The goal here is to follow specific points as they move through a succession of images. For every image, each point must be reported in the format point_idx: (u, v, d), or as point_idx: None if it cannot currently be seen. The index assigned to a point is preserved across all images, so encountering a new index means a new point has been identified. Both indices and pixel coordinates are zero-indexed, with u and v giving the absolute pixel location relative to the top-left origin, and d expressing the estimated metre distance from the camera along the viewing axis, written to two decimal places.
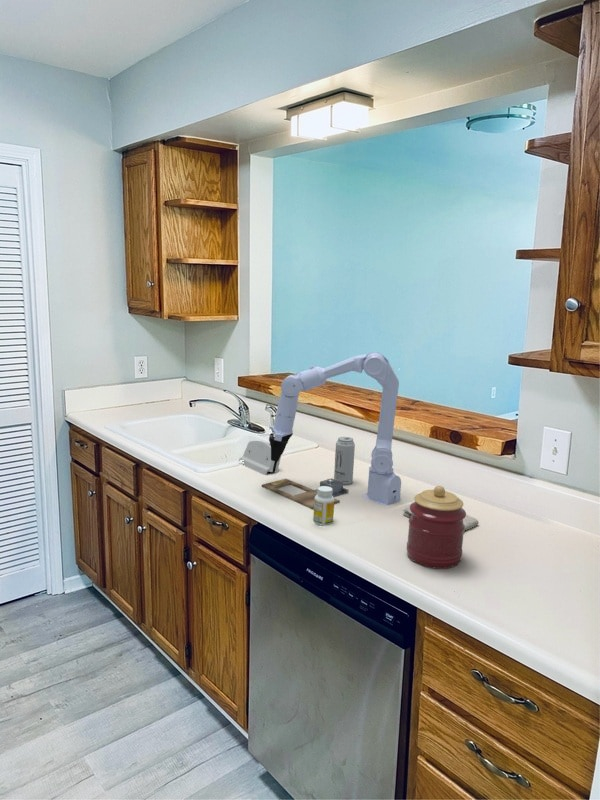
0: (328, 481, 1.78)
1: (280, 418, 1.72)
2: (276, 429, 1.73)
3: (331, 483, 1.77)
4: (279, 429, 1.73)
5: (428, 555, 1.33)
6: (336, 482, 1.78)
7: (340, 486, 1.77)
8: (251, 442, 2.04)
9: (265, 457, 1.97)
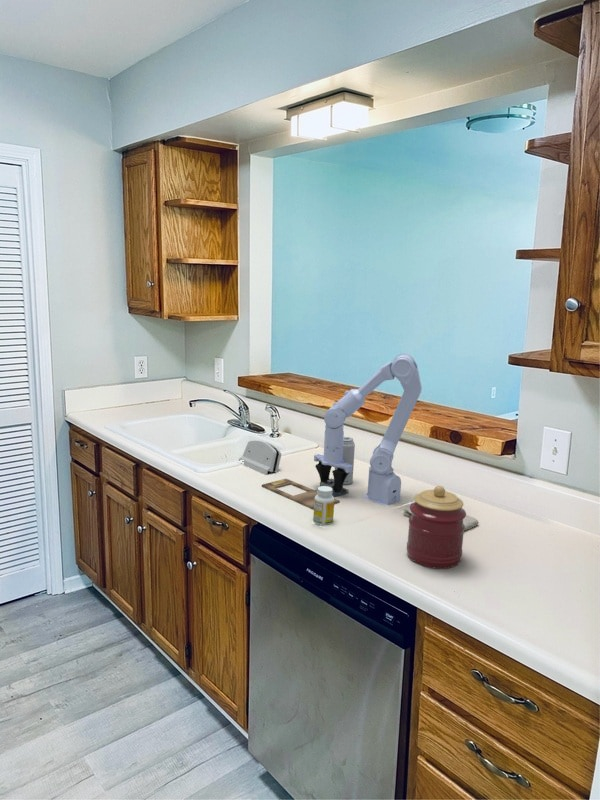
0: (328, 481, 1.78)
1: (337, 451, 1.73)
2: (335, 463, 1.74)
3: (331, 483, 1.77)
4: (337, 461, 1.74)
5: (428, 555, 1.33)
6: None
7: None
8: (251, 442, 2.04)
9: (265, 457, 1.97)
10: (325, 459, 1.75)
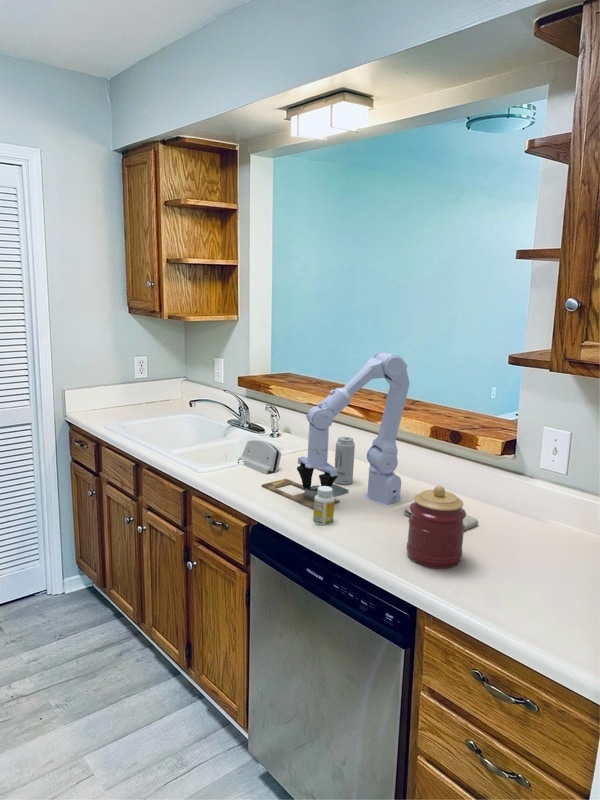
0: (313, 488, 1.69)
1: (321, 453, 1.65)
2: (319, 466, 1.65)
3: (316, 490, 1.68)
4: (322, 464, 1.65)
5: (428, 555, 1.33)
6: None
7: None
8: (250, 442, 2.05)
9: (265, 456, 1.98)
10: (309, 462, 1.66)
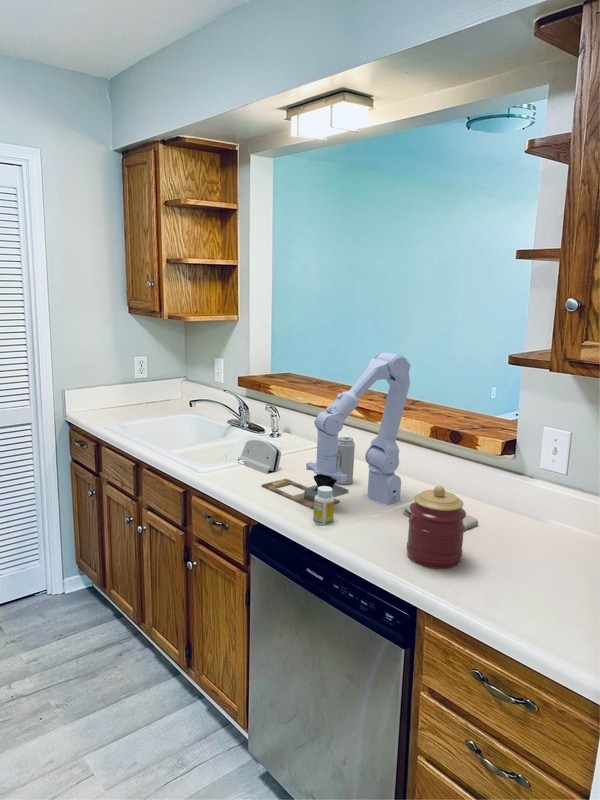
0: (313, 488, 1.69)
1: (331, 459, 1.62)
2: (328, 472, 1.62)
3: (316, 490, 1.68)
4: (331, 470, 1.63)
5: (428, 555, 1.33)
6: None
7: None
8: (249, 441, 2.05)
9: (265, 456, 1.98)
10: (318, 468, 1.64)
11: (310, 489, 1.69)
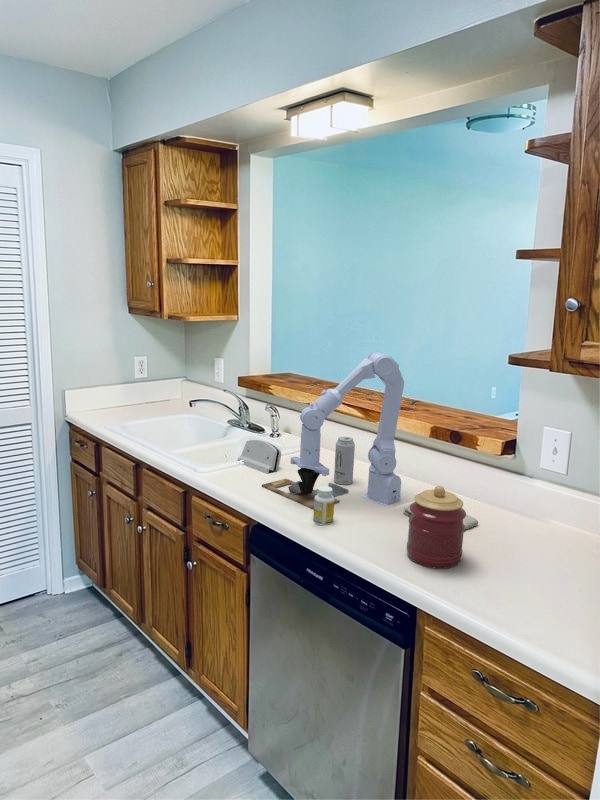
0: (295, 483, 1.75)
1: (313, 453, 1.67)
2: (311, 465, 1.67)
3: (298, 482, 1.74)
4: (314, 464, 1.68)
5: (428, 555, 1.33)
6: None
7: None
8: (249, 441, 2.05)
9: (265, 456, 1.98)
10: (301, 462, 1.69)
11: (293, 485, 1.75)
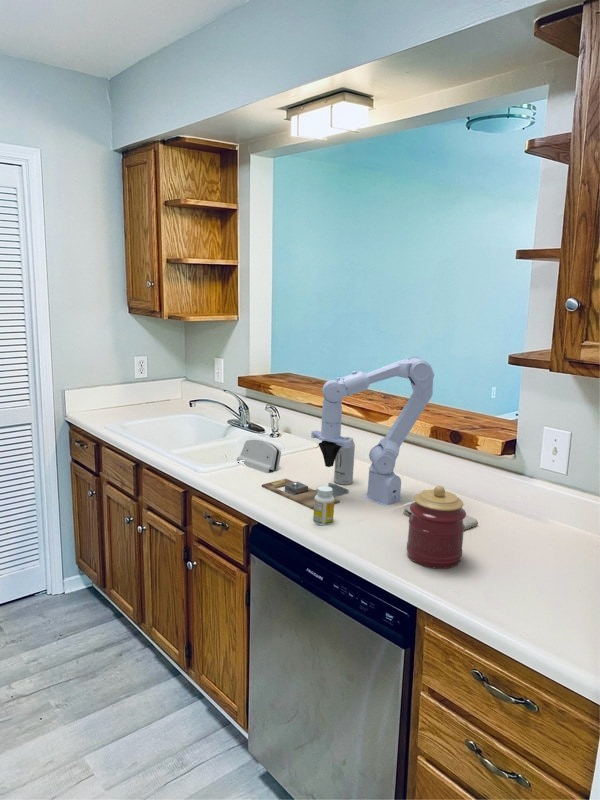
0: (293, 484, 1.76)
1: (335, 426, 1.68)
2: (333, 438, 1.68)
3: (295, 486, 1.75)
4: (336, 437, 1.69)
5: (428, 555, 1.33)
6: (301, 485, 1.76)
7: (304, 489, 1.76)
8: (248, 441, 2.05)
9: (265, 455, 1.99)
10: (323, 435, 1.70)
11: (290, 485, 1.76)
